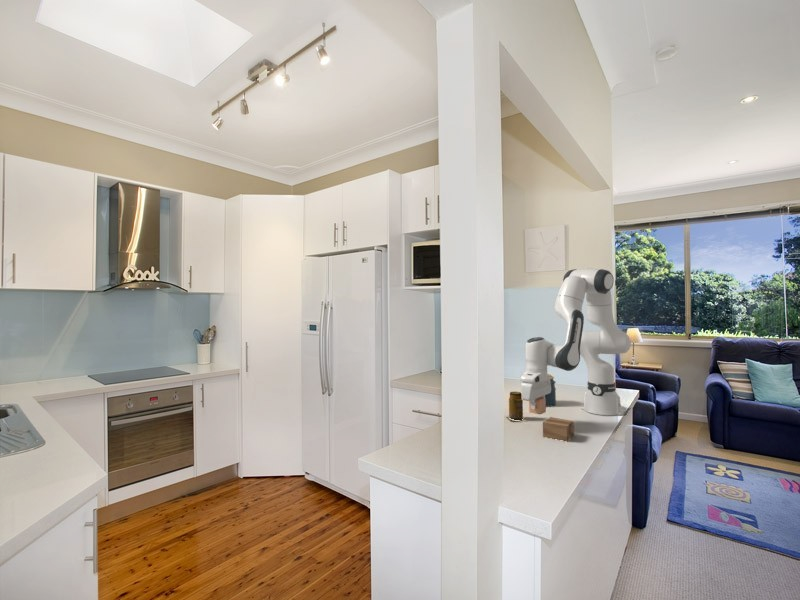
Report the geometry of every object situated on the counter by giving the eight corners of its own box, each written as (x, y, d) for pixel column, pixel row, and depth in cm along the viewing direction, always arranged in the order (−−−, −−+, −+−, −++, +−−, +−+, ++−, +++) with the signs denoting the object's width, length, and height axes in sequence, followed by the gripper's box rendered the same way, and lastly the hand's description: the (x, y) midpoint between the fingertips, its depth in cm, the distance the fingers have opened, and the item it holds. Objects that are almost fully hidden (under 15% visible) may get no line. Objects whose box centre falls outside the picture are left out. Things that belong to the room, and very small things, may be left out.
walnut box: (550, 431, 160) (550, 417, 160) (574, 436, 154) (573, 420, 154) (543, 437, 153) (542, 422, 153) (567, 442, 147) (566, 426, 147)
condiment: (521, 416, 182) (520, 390, 183) (527, 421, 174) (527, 394, 174) (505, 417, 182) (505, 391, 182) (511, 422, 174) (510, 395, 174)
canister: (561, 404, 205) (560, 370, 205) (546, 408, 197) (545, 373, 198) (540, 399, 215) (539, 367, 216) (524, 403, 208) (524, 370, 209)
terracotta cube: (534, 409, 172) (534, 396, 172) (545, 411, 169) (545, 398, 169) (529, 412, 169) (529, 398, 169) (540, 414, 165) (539, 400, 165)
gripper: (540, 370, 178) (541, 401, 178) (518, 378, 164) (519, 410, 164) (554, 372, 174) (555, 403, 174) (532, 379, 160) (533, 413, 160)
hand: (537, 407), depth 169 cm, fingers closed on terracotta cube, 5 cm apart
